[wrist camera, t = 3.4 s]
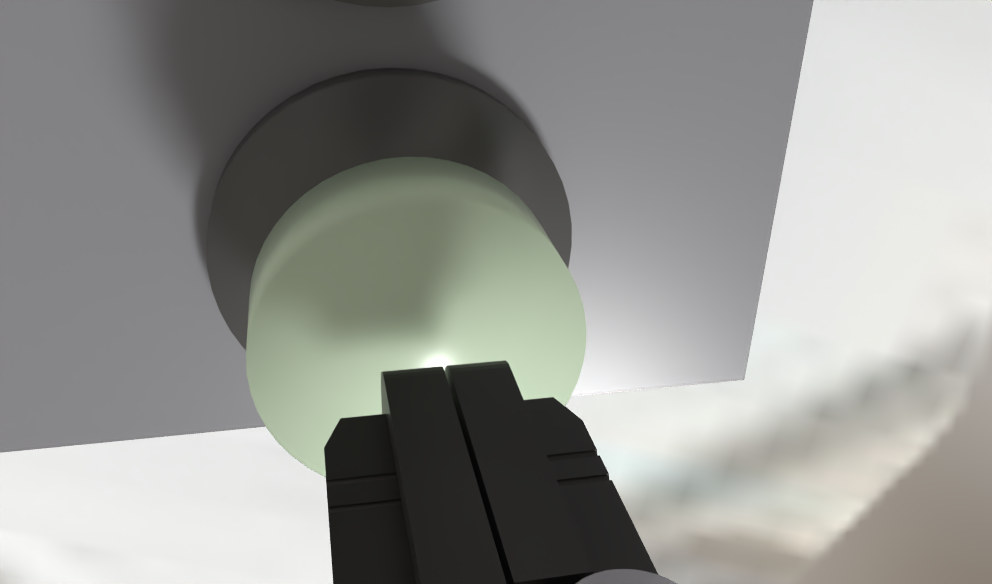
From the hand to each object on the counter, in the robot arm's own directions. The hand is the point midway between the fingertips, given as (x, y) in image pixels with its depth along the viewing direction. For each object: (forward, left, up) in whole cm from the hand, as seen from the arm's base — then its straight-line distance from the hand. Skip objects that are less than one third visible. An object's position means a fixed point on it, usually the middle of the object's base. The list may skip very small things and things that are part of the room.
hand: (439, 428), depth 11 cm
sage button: (0, 0, -3) cm, 3 cm away
